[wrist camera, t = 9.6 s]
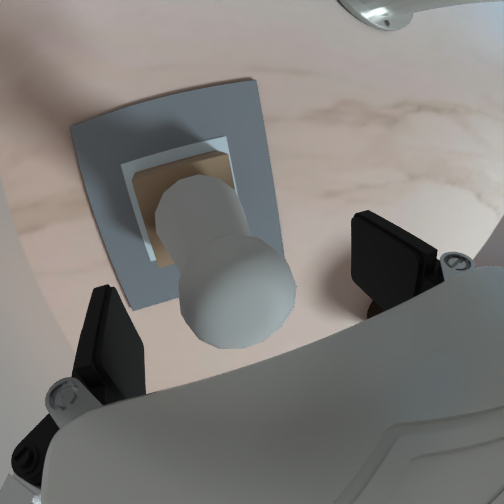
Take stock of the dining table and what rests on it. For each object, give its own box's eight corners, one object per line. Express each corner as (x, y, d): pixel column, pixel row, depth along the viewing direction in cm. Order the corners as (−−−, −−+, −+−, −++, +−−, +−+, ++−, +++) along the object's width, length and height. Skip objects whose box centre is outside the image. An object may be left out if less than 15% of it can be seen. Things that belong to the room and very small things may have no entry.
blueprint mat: (70, 127, 19) (69, 127, 19) (254, 80, 23) (256, 79, 22) (133, 308, 27) (132, 311, 27) (283, 261, 31) (285, 263, 30)
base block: (135, 172, 22) (131, 180, 19) (217, 150, 24) (228, 154, 20) (157, 248, 25) (159, 268, 22) (232, 226, 27) (245, 242, 23)
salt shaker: (225, 161, 20) (320, 209, 9) (240, 234, 23) (327, 341, 12) (144, 183, 19) (133, 264, 8) (166, 256, 22) (191, 390, 11)
